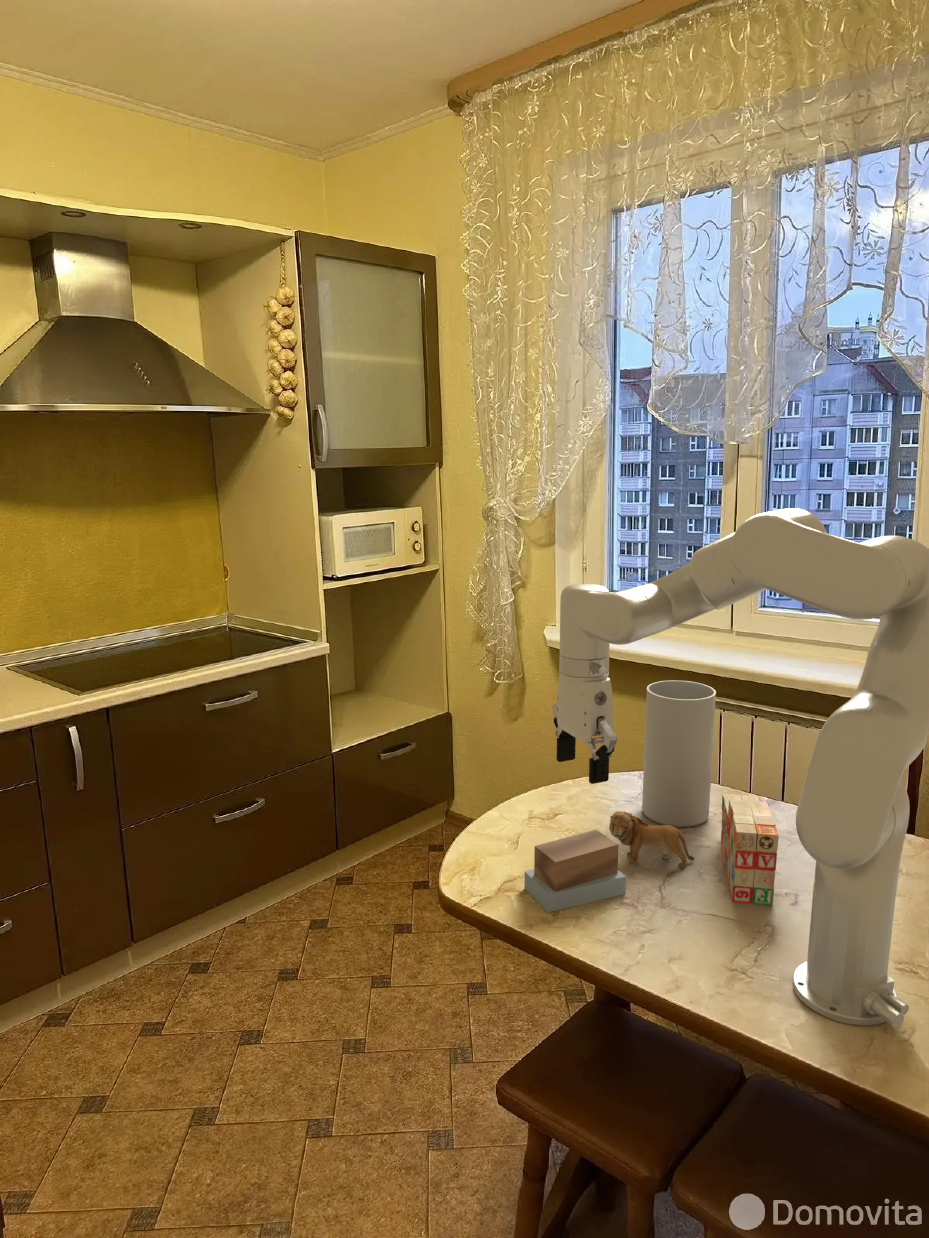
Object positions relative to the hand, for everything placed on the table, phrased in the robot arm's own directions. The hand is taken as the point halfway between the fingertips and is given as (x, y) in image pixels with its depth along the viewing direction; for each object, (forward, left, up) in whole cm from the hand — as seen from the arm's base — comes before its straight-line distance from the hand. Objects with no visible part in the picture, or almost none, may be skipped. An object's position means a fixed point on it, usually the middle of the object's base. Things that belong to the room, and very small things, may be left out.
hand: (581, 770), depth 136 cm
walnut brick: (0, +1, -17) cm, 17 cm away
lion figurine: (+3, -15, -20) cm, 26 cm away
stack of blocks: (-6, -28, -21) cm, 36 cm away
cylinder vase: (+17, -31, -20) cm, 41 cm away
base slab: (0, +1, -20) cm, 20 cm away
